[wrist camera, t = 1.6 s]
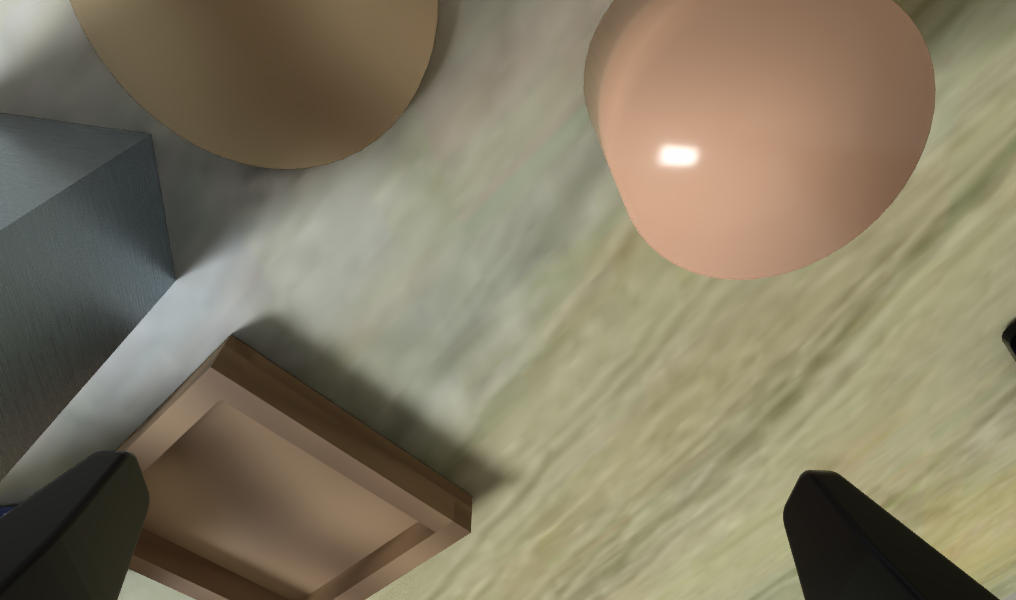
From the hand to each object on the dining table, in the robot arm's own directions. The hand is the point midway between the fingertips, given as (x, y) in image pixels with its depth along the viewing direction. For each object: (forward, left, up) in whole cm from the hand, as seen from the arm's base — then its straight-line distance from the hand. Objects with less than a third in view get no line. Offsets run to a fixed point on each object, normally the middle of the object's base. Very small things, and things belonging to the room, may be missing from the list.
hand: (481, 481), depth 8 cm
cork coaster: (+1, -7, -12) cm, 14 cm away
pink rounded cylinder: (-6, +2, -12) cm, 13 cm away
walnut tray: (+17, +4, -12) cm, 21 cm away
